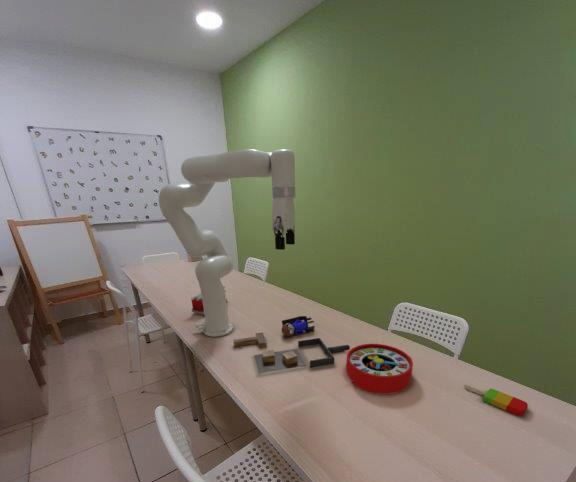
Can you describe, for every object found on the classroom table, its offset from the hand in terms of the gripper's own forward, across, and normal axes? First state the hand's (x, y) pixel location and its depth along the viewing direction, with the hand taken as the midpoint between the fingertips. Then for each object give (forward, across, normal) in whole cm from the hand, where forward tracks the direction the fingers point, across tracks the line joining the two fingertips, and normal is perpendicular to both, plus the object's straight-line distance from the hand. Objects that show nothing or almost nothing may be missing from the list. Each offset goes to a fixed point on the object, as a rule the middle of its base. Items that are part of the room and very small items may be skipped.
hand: (285, 246), depth 104 cm
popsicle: (+38, +15, +67) cm, 78 cm away
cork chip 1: (+36, +16, -1) cm, 40 cm away
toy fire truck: (+37, -20, -50) cm, 65 cm away
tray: (+37, +16, +2) cm, 41 cm away
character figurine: (+37, -6, +2) cm, 38 cm away
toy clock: (+38, +13, +35) cm, 53 cm away
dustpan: (+37, +6, +17) cm, 41 cm away
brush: (+37, +8, -13) cm, 40 cm away
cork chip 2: (+36, +15, +6) cm, 40 cm away
